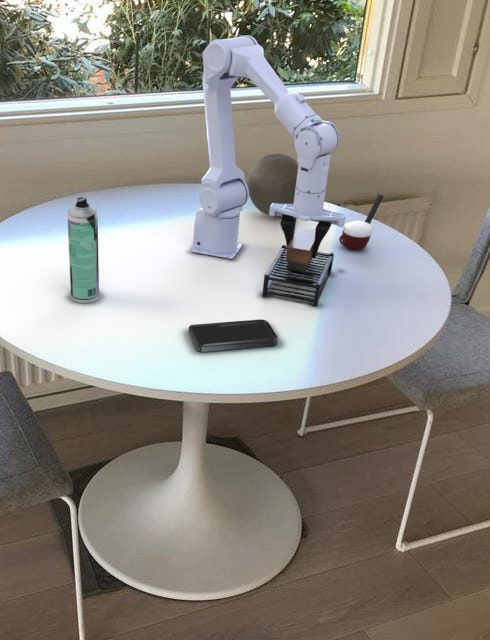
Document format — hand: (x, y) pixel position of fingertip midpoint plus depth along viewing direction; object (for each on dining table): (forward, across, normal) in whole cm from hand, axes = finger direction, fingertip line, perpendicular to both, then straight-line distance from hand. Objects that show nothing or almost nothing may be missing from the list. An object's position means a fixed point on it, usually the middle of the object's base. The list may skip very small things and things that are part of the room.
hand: (301, 253), depth 154 cm
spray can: (+7, -38, -22) cm, 44 cm away
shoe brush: (+2, 0, 0) cm, 2 cm away
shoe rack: (+7, 0, 0) cm, 7 cm away
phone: (+7, -6, -26) cm, 28 cm away
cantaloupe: (+7, -14, +35) cm, 38 cm away
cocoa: (+7, +8, +24) cm, 26 cm away
